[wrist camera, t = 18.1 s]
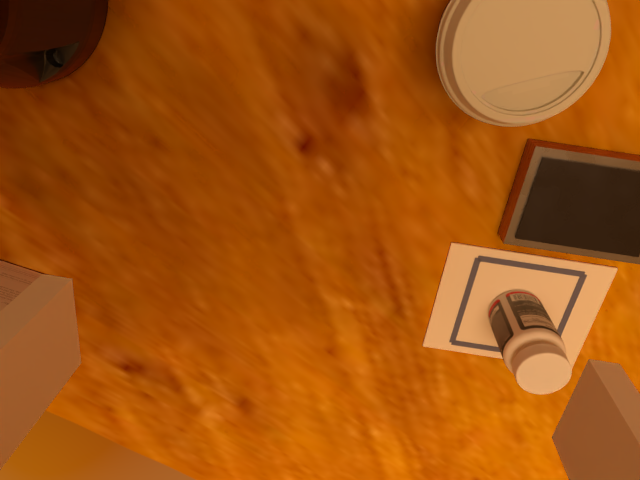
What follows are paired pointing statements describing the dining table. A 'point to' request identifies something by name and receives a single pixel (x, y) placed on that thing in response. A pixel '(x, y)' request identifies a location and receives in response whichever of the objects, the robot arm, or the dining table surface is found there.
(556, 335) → the pill bottle
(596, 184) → the ink pad
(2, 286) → the supplement box
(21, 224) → the dining table surface
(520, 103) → the coffee cup
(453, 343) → the print card
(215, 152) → the dining table surface
